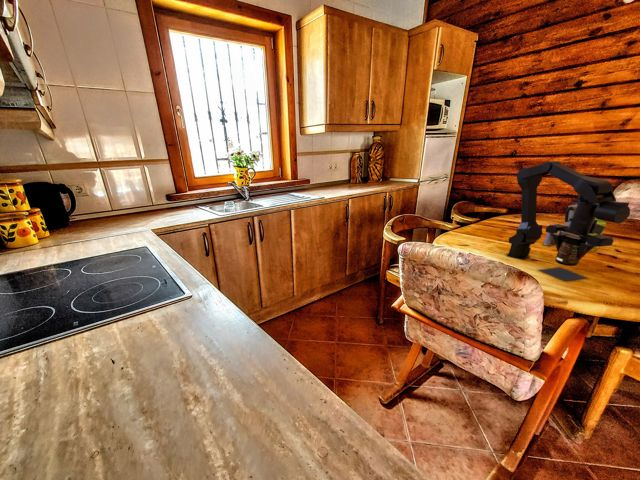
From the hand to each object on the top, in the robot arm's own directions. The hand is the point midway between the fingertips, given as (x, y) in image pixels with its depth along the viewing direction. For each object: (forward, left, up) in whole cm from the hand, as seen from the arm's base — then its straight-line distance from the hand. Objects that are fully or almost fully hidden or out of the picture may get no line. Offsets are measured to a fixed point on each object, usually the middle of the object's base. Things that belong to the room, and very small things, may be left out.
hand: (568, 255), depth 107 cm
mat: (0, 0, -8) cm, 8 cm away
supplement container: (0, 0, -3) cm, 3 cm away
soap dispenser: (+2, +41, -8) cm, 42 cm away
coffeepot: (-7, +62, -8) cm, 63 cm away
